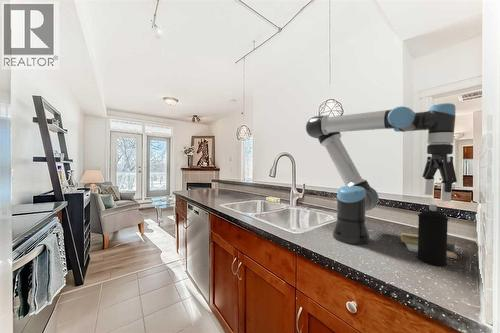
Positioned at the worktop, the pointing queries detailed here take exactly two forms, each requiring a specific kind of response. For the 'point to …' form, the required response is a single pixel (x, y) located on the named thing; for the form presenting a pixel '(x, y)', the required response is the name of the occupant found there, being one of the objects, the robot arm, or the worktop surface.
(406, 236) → the brass swing stop
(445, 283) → the worktop surface
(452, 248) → the door leaf
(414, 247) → the jamb plate
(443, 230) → the aerosol can
